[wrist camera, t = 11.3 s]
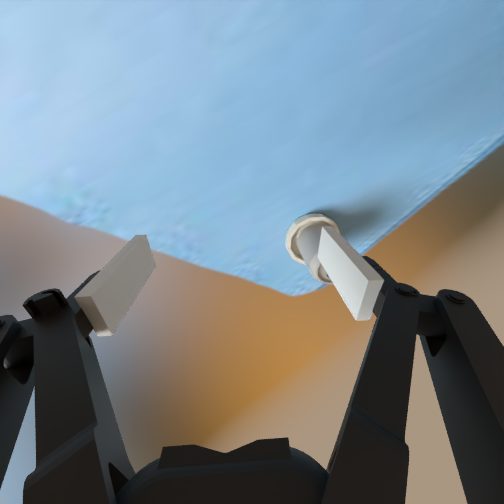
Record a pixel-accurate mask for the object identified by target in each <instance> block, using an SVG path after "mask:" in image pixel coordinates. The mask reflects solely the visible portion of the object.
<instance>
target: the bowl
mask: <svg viewBox="0 0 504 504" xmlns="http://www.w3.org/2000/svg"><path fill="white" fill-rule="evenodd" d="M313 224H321V225H324V226H333V227H334V228H335V229H336V231H337V232H338V233H339V234H340V232H339V229H338V227H337V225H336V223H335V222H334V221H333V220H331V219H330V218H328V217H327V216H325V215H323V214H318V213H310V214H306V215H303V216H301V217H299V218H298V219H296V220H295V221H294V222H293V223H292V224H291V225H290V227H289V228H288V230H287V233H286V238H285V241H286V248H287V250H288V252H289V253H290V255H291V257H292V258H293V260H296V261H298V262H300V263H302V264H306V263H305V261H304V259H303V257H302V255H301V253H300V251H299V249H298V246H297V238H298V236H299V234H300V233H301V231H302V230H303V229H305V228H306V227H308V226H310V225H313ZM340 235H341V234H340Z"/></svg>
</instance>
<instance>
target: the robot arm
mask: <svg viewBox="0 0 504 504" xmlns="http://www.w3.org/2000/svg"><path fill="white" fill-rule="evenodd" d="M317 258H318V259H319V261H320V262H321V264H322V266H323V267H324V269H325V271H326V272H327V274H328V276H329V277H330V279H331V281H332V282H333V284H334V285H335V287H336V289H337V290H338V292H339V294H340V295H341V297H342V299H343V300H344V302H345V303H346V305H347V307H348V308H349V310H350V311H351V313H352V315H353V317H354V318H355V319H356V321H361V320H370V318H371V315H372V312H373V313H374V314H375V315H376V317H377V319H376V322H375V324H374V327H373V330H372V334H371V337H370V340H369V343H368V346H367V349H366V352H365V355H364V358H363V361H362V365H361V367H360V371H359V374H358V377H357V380H356V383H355V386H354V389H353V392H352V395H351V398H350V401H349V404H348V408H347V410H346V413H345V416H344V419H343V423H342V426H341V428H340V431H339V435H338V438H337V441H336V443H335V446H334V449H333V452H332V455H331V458H330V460H329V463H328V467H327V469H326V470H325V469H324V468H323V467H322V466H321V465H320V464H319V463H318V462H317V461H315V460H314V459H313V458H312V457H310V456H309V455H307V454H305V453H304V452H302V451H300V450H298V449H295V448H292V447H290V446H289V440H288V438H275V439H262V440H256V441H254V442H252V443H249V444H247V445H245V446H242V447H240V448H238V449H235V450H233V451H230V452H228V453H222V452H218V451H215V450H211V449H208V448H204V447H200V446H197V445H182V446H168V447H163V449H162V453H161V457H160V458H159V459H156V460H155V461H153V462H151V463H149V464H148V465H147V466H145V467H144V468H142V469H141V470H140V471H139V472H137V473H136V474H135V471H134V470H133V467H132V466H131V464H130V461H129V459H128V456H127V453H126V450H125V447H124V444H123V440H122V437H121V434H120V431H119V428H118V424H117V421H116V418H115V414H114V411H113V408H112V405H111V402H110V399H109V395H108V392H107V389H106V385H105V382H104V379H103V376H102V372H101V369H100V366H99V363H98V359H97V356H96V353H95V350H94V347H93V343H92V340H91V338H90V337H89V334H90V332H91V331H92V330H93V329H94V331H95V332H96V334H97V336H112V335H113V334H114V332H115V331H116V329H117V328H118V326H119V324H120V322H121V321H122V319H123V318H124V316H125V315H126V313H127V311H128V310H129V308H130V307H131V305H132V303H133V302H134V300H135V299H136V297H137V295H138V294H139V292H140V291H141V289H142V287H143V286H144V284H145V282H146V281H147V279H148V278H149V276H150V275H151V273H152V271H153V270H154V268H155V267H156V265H155V261H154V258H153V255H152V252H151V249H150V245H149V242H148V239H147V236H146V235H136V236H135V237H134V238H133V239H132V240H131V241H130V242H129V243H128V244H127V245H126V246H125V247H124V248H123V249H122V250H121V251H120V252H119V253H118V254H117V255H116V256H115V257H114V258H113V259H112V260H111V261H110V262H109V263H108V264H107V265H106V266H105V267H104V268H103V269H102V270H100V271H97V272H96V273H94V274H92V275H91V276H89V277H88V278H87V279H86V280H85V281H84V283H82V284H81V285H80V286H79V287H78V288H77V289H76V290H75V291H74V292H73V293H72V294H71V295H70V296H69V297H68V298H67V299H65V297H64V295H63V294H62V292H61V291H60V290H59V289H48V290H44V291H41V292H39V293H37V294H34V295H33V296H31V297H30V298H28V299H27V300H26V301H25V302H24V304H23V307H24V308H25V309H26V310H27V312H28V313H29V314H30V316H31V317H32V318H31V319H27V320H23V321H19V322H18V321H17V320H16V318H15V317H14V316H12V315H4V316H0V488H1V485H2V482H3V479H4V476H5V473H6V470H7V467H8V464H9V461H10V458H11V455H12V452H13V449H14V446H15V443H16V440H17V437H18V434H19V431H20V428H21V425H22V422H23V419H24V416H25V413H26V410H27V407H28V404H29V401H30V398H31V395H32V391H33V388H34V386H35V422H36V423H35V424H36V425H35V428H36V469H35V471H34V472H32V473H31V474H30V475H28V476H27V478H26V480H25V482H24V489H23V504H405V497H406V487H407V476H408V465H409V448H408V445H407V444H406V443H405V429H406V421H407V412H408V403H409V394H410V385H411V377H412V368H413V359H414V351H415V342H416V334H418V335H419V336H420V340H421V343H422V347H423V350H424V353H425V357H426V360H427V364H428V367H429V371H430V374H431V378H432V381H433V385H434V388H435V392H436V395H437V399H438V402H439V405H440V409H441V413H442V416H443V420H444V423H445V426H446V430H447V434H448V437H449V441H450V444H451V447H452V451H453V455H454V458H455V461H456V465H457V468H458V471H459V475H460V479H461V482H462V485H463V489H464V493H465V496H466V500H467V503H468V504H504V346H503V345H502V343H501V342H500V341H499V339H498V338H497V336H496V334H495V333H494V331H493V330H492V328H491V327H490V325H489V324H488V322H487V321H486V319H485V317H484V316H483V314H482V313H481V311H480V310H479V308H478V307H477V305H476V304H475V303H474V301H473V300H472V299H471V298H469V297H468V296H466V295H465V294H463V293H460V292H458V291H454V290H447V289H443V290H440V291H439V292H438V294H437V295H436V297H435V296H428V295H422V294H420V293H419V292H418V291H417V290H416V289H415V288H413V287H412V286H409V285H407V284H403V283H397V282H396V281H395V280H394V279H393V278H392V277H391V276H390V275H389V274H388V273H387V272H386V271H385V270H383V268H382V267H381V266H379V264H377V263H376V262H375V261H374V260H372V259H371V258H369V257H367V256H361V255H360V254H359V253H358V252H357V251H356V250H355V249H354V248H353V247H352V246H351V245H350V244H349V243H348V242H347V241H346V240H345V239H344V238H343V237H342V236H341V235H340V234H339V233H338V232H337V231H336V229H335V228H334V227H333V226H322V230H321V237H320V244H319V250H318V257H317Z"/></svg>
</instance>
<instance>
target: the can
mask: <svg viewBox="0 0 504 504" xmlns="http://www.w3.org/2000/svg"><path fill="white" fill-rule="evenodd" d="M322 226H324V225H321V224H313V225H310V226H308V227H306V228H305V229H303V230H302V231H301V233H300V234H299V236H298V238H297V246H298V249H299V251H300V253H301V255H302V257H303V259H304V261H305V263H306V265H307V267H308V269H309V271H310V273H311V275H312V276H313V277H314V278H315V279H317V280H318V281H321V282H322V283H325V284H333V282H332V281H331V279H330V277H329V276H328V274H327V272H326V271H325V269H324V267H323V266H322V264H321V262H320V261H319V259H318V258H317V257H318V250H319V244H320V237H321V230H322Z"/></svg>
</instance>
